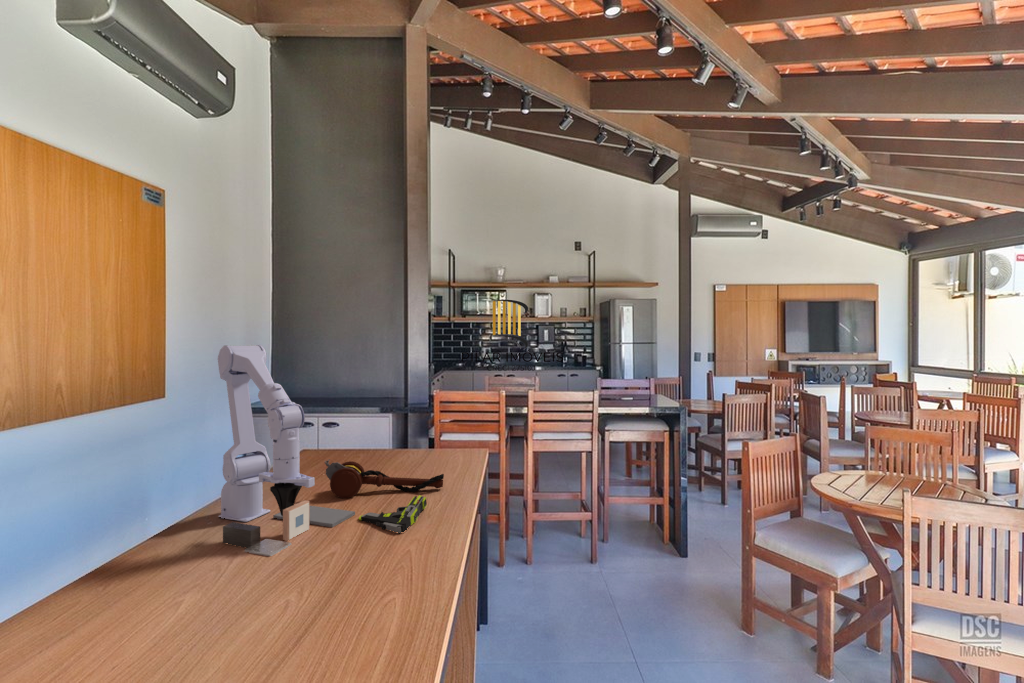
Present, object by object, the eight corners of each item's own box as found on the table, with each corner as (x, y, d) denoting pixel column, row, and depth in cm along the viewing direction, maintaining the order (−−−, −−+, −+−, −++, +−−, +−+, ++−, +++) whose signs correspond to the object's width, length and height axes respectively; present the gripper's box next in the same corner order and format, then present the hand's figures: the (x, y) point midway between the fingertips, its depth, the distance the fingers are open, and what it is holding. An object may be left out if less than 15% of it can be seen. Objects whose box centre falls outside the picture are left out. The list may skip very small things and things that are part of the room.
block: (282, 540, 114) (282, 509, 114) (304, 529, 120) (304, 500, 120) (288, 541, 113) (288, 510, 113) (310, 530, 120) (310, 501, 120)
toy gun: (374, 493, 138) (427, 491, 137) (375, 508, 138) (428, 505, 137) (345, 524, 118) (406, 521, 117) (346, 541, 119) (408, 539, 117)
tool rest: (273, 518, 127) (273, 515, 127) (298, 506, 136) (298, 503, 136) (332, 527, 121) (332, 523, 121) (355, 514, 130) (355, 511, 130)
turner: (216, 547, 110) (216, 529, 110) (238, 536, 116) (238, 519, 116) (270, 556, 105) (270, 537, 105) (291, 545, 111) (291, 527, 111)
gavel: (441, 492, 156) (441, 503, 147) (327, 488, 151) (319, 498, 141) (444, 460, 156) (444, 469, 147) (330, 455, 151) (322, 463, 141)
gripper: (248, 458, 116) (248, 516, 116) (299, 463, 111) (299, 524, 111) (271, 451, 123) (271, 506, 123) (320, 456, 118) (320, 513, 118)
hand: (286, 514), depth 118 cm, fingers closed
